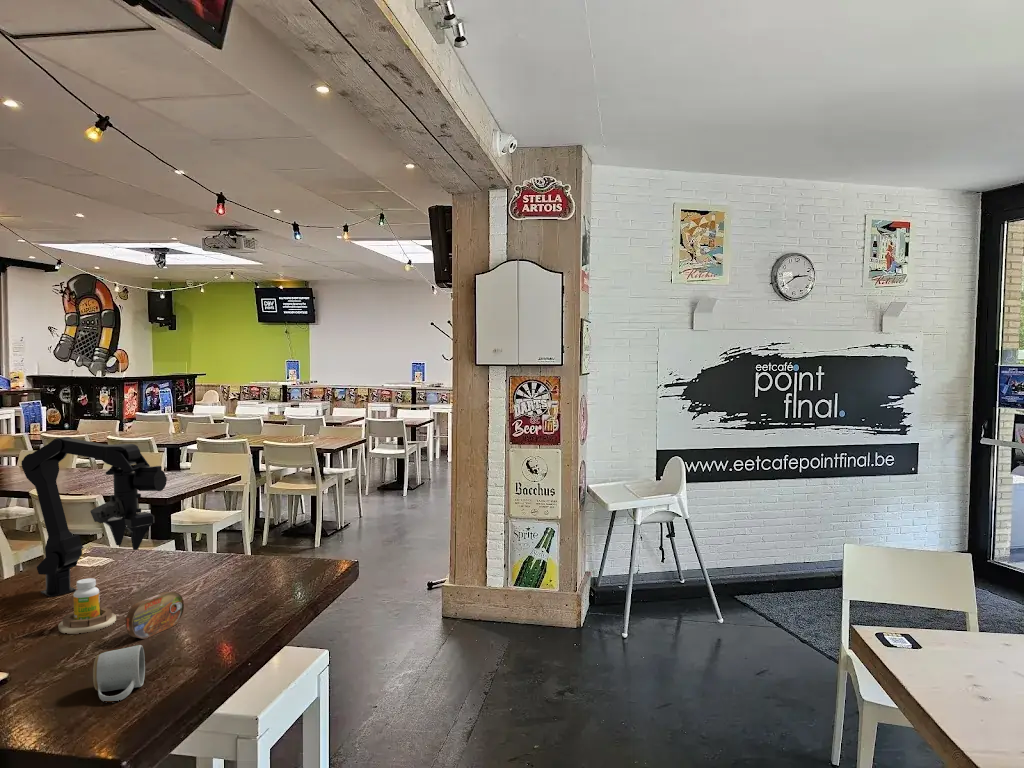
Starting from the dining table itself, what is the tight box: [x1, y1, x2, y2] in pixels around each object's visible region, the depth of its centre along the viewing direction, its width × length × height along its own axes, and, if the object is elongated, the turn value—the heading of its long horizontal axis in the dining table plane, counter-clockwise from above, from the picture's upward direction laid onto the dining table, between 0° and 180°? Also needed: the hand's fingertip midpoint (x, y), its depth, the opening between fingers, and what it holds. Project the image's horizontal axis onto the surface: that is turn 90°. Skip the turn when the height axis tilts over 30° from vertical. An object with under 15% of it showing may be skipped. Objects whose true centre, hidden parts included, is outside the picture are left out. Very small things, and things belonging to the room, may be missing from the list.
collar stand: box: [58, 606, 117, 635], centre depth 172 cm, size 12×12×2 cm
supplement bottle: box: [73, 577, 100, 620], centre depth 172 cm, size 5×5×10 cm
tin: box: [125, 591, 185, 640], centre depth 167 cm, size 15×3×8 cm, turn 160°
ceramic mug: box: [92, 644, 146, 702], centre depth 136 cm, size 11×8×8 cm
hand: (126, 547), depth 194 cm, fingers open, 9 cm apart
